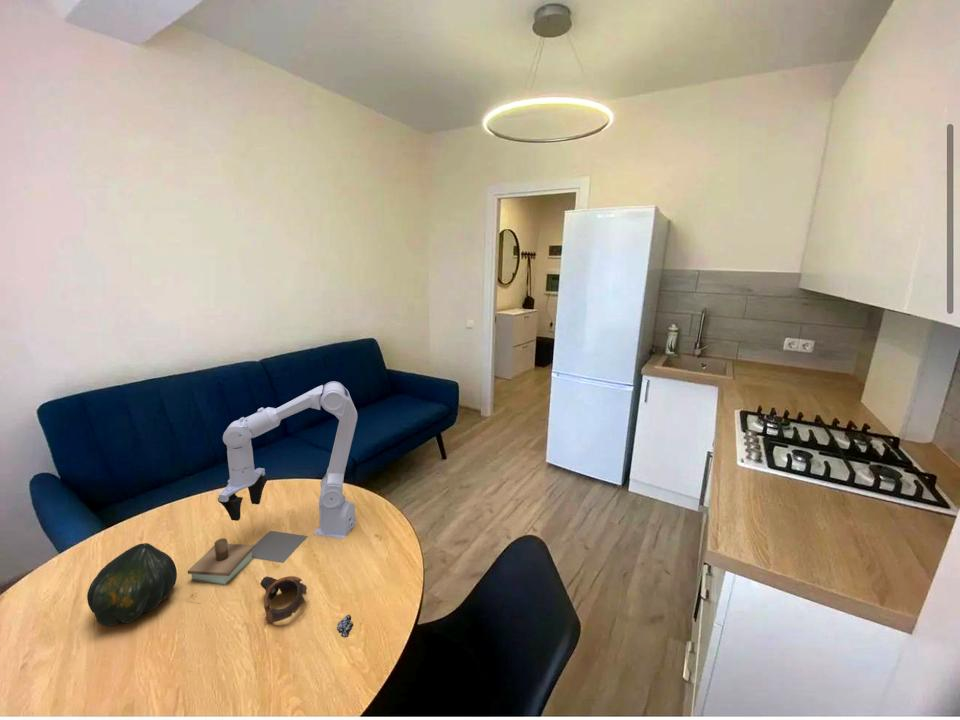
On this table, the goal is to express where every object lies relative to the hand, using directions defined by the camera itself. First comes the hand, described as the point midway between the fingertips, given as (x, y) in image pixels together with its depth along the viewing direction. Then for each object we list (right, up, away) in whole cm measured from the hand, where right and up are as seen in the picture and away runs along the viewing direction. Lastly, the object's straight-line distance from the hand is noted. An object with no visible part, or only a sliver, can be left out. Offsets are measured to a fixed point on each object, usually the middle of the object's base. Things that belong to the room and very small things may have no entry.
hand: (246, 511), depth 107 cm
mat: (+8, -10, +1) cm, 13 cm away
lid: (-1, -9, -9) cm, 13 cm away
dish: (-1, -12, -8) cm, 14 cm away
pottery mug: (+19, -15, -18) cm, 30 cm away
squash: (-13, -14, -19) cm, 27 cm away
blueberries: (+36, -17, -23) cm, 45 cm away
